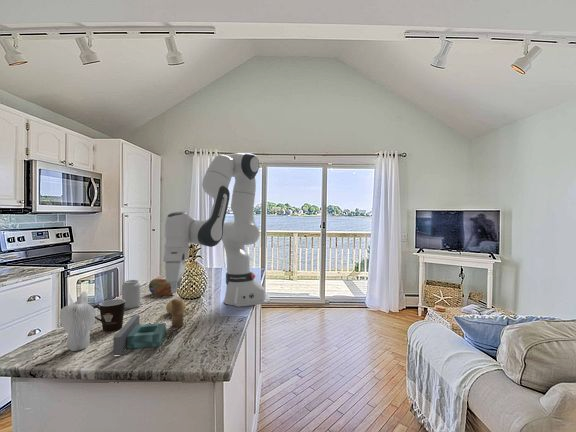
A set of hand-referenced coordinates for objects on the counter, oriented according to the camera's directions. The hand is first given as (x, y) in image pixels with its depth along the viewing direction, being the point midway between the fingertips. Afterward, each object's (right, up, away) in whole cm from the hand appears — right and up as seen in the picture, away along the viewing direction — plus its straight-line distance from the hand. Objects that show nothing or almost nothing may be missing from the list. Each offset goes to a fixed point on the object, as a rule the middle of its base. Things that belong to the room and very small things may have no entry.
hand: (176, 289), depth 120 cm
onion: (-5, -14, +15) cm, 21 cm away
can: (-29, -14, +24) cm, 40 cm away
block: (-5, -15, -13) cm, 20 cm away
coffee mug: (-25, -14, -2) cm, 29 cm away
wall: (-11, -15, -15) cm, 23 cm away
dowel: (0, -14, +1) cm, 14 cm away
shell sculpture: (-25, -15, -19) cm, 34 cm away
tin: (-23, -13, +44) cm, 52 cm away
